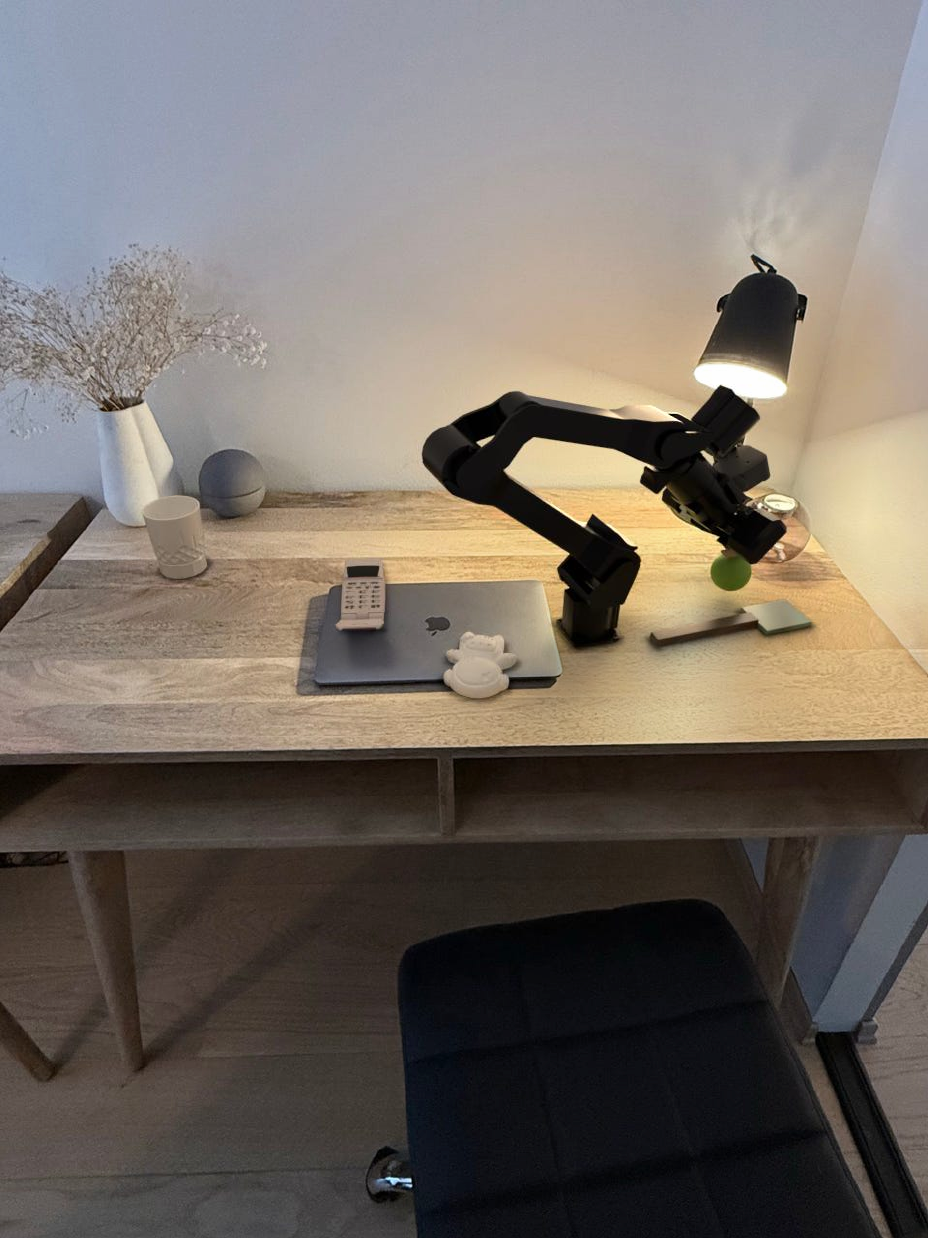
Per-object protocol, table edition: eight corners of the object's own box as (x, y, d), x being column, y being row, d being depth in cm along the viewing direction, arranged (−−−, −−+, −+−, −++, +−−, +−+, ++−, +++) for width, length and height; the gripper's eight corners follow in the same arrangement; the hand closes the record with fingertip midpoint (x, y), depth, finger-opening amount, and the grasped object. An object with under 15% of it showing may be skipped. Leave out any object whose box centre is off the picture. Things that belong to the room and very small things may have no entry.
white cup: (145, 575, 121) (129, 514, 116) (179, 551, 127) (166, 491, 122) (189, 586, 119) (175, 523, 113) (222, 560, 125) (210, 500, 119)
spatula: (664, 656, 104) (666, 648, 104) (642, 630, 109) (643, 623, 108) (811, 626, 110) (813, 618, 109) (783, 603, 115) (785, 595, 114)
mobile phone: (334, 628, 99) (342, 530, 120) (337, 667, 102) (344, 566, 123) (384, 626, 100) (383, 529, 120) (386, 665, 103) (385, 564, 124)
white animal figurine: (522, 646, 106) (523, 626, 104) (503, 703, 96) (504, 683, 95) (456, 636, 108) (456, 617, 106) (431, 692, 98) (430, 672, 97)
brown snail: (761, 592, 114) (780, 514, 108) (723, 601, 112) (741, 523, 106) (735, 574, 119) (753, 497, 112) (699, 582, 116) (714, 505, 110)
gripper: (792, 459, 94) (841, 529, 104) (693, 408, 108) (744, 473, 118) (723, 532, 96) (778, 594, 106) (635, 472, 110) (690, 532, 120)
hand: (747, 544), depth 112 cm, fingers closed on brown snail
